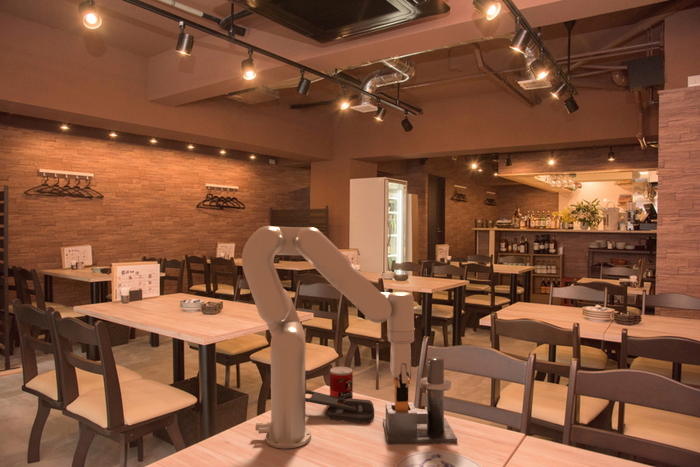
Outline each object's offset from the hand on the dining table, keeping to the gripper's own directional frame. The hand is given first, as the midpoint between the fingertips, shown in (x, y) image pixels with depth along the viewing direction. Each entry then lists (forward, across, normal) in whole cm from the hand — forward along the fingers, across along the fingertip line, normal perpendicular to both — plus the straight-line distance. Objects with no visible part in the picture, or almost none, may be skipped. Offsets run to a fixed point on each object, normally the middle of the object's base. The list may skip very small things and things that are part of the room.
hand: (401, 398), depth 133 cm
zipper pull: (+10, -13, -20) cm, 26 cm away
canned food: (+10, -24, -17) cm, 31 cm away
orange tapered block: (+4, 0, 0) cm, 4 cm away
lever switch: (+10, 0, +5) cm, 11 cm away
